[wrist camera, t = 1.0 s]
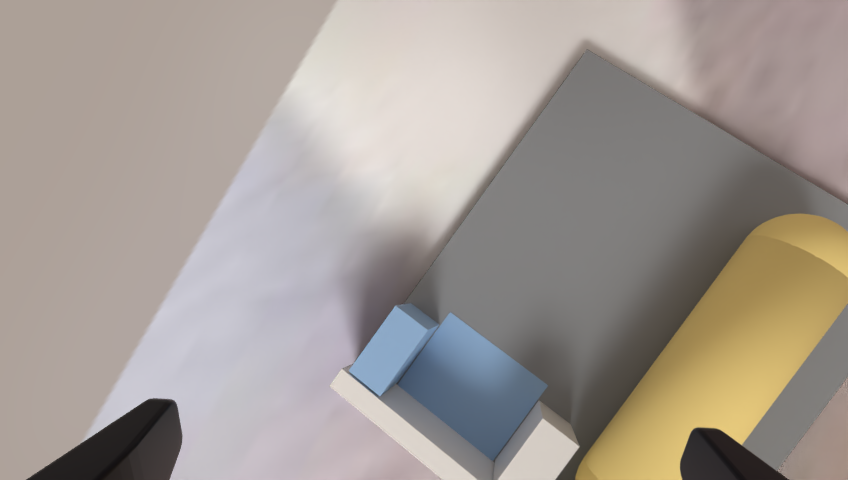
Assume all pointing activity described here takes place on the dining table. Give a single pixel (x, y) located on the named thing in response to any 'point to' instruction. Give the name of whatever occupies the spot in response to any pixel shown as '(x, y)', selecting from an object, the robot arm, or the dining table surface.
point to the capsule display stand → (581, 287)
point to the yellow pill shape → (731, 349)
